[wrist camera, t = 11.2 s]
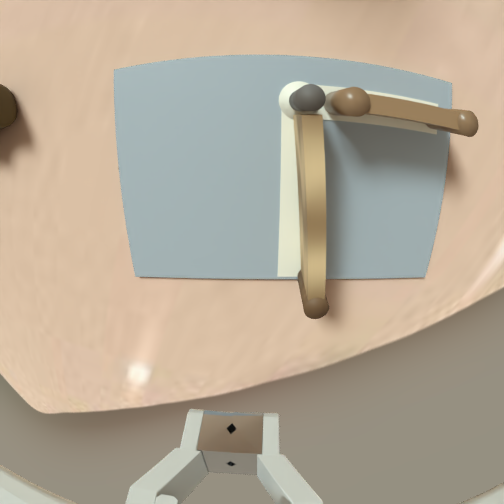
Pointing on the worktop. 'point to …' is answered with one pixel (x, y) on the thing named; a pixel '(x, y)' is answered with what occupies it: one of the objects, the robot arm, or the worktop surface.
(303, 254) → the tan wooden bar
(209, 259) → the card
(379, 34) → the worktop surface
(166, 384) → the worktop surface
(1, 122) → the kendama
